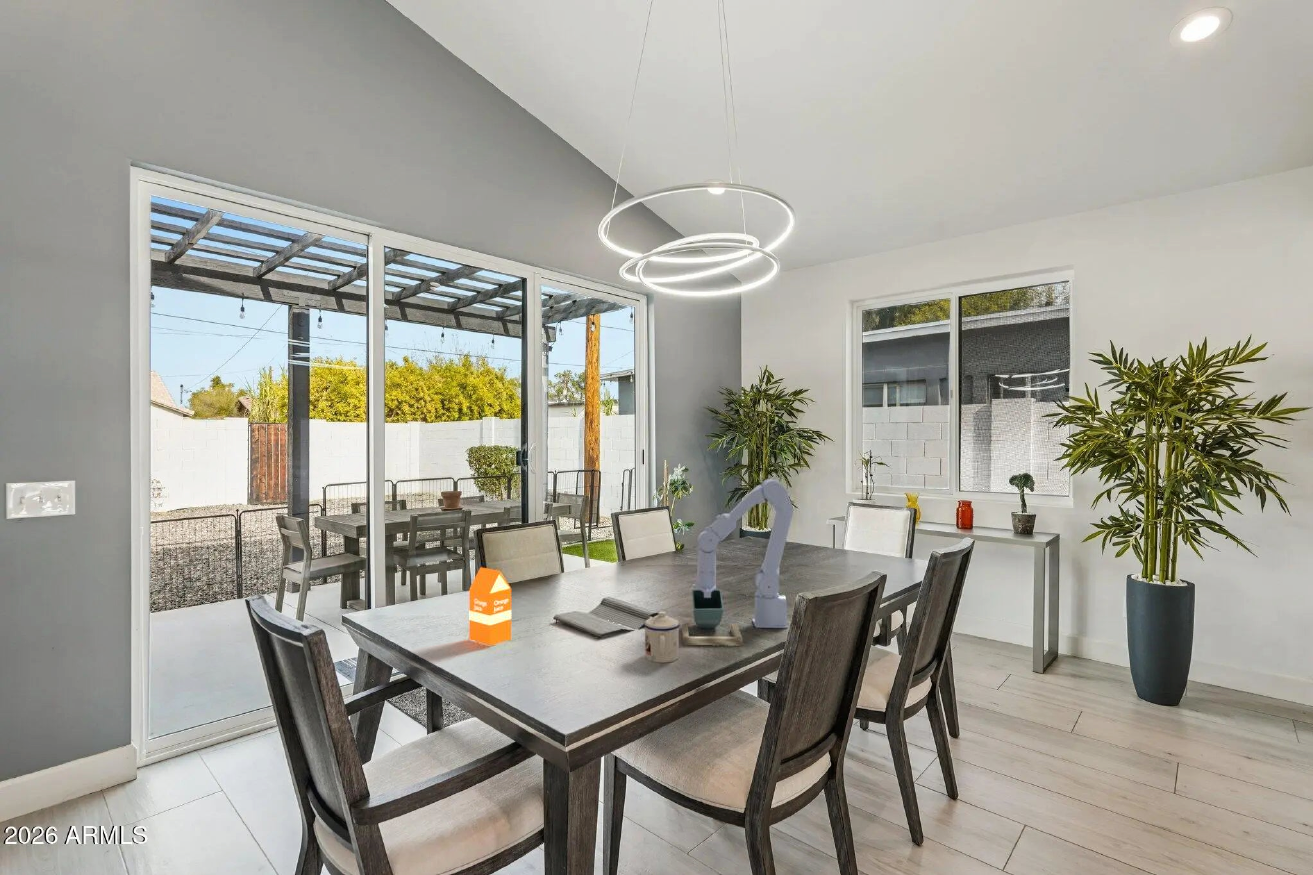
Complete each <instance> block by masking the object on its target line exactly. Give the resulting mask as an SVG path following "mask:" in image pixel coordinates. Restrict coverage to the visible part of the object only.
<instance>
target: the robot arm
mask: <svg viewBox="0 0 1313 875" xmlns="http://www.w3.org/2000/svg"><path fill="white" fill-rule="evenodd" d="M766 500H767V501H768V502H769V503H770V504H771V506H772V508H773V509H774V511H775V515H774V520H773V523H772V527H771V531H770V536H769V539H768V544H767V548H766V552H765V555H764V559H763V562H762V564H761V566H760V569H759V571H758V573H757V574H755V577H754V583H755V586H756V587H757V590H756V591H755V592H754V618H752V619H751V621H752V623H753V626H754V627H755V628H757V629H764V628H765V629H786V628H788V606H787V604H788V603H787V599H786V598H787V596H786V595H784V594H783V595H780V593H779V591H780V583H779V582H780V581H779V577H780V566H781V561H782V557H783V554H784V549H785V546H786V542H787V537H788V534H789V530H790V527H791V522H792V518H793V513H794V507H793V505H792V501H791V499H790V496H789V492H788V490H787V489H786V487H785V486H784V485H783V484H782V483H781V482H780V481H778V480H776V479H773V478H767V479H765V480H763V481H762V482H761V484H758V485H756V486H755V487H754V488H753V489H752V490H751V491H750V492H749V493H748V494H747V495H746V496H745V497H744V498H743V499H742V500H741V501H740V502H739V503H738V504H737V505H736V506H735V507H733V509H732V510H731V511H730V512H729V513H722V514H721V515H720V514H718V515H717V516H715V518H716V519H715V520H714V521H713V522H712V523H711V524H710V525H709V526H706V527H705V530H704V531H701V533H699V535H698V538H697V540H696V541H697V544H698V550H697V554H698V555H697V566H696V568H697V569H696V571H697V572H696V583H693V584H692V587H693V589H694V588H695V589H696V590H700V591H702V592H703V593H704V598H711V592H712V591H714V590H715V589H717V585H716V582H717V581H716V579H717V577H716V576H717V556H716V554H717V553H716V551H717V548H718V544H719V542H722V541H723V540H725V539H726V537H727V536H729V534H730V533H732V532H733V531H734V530H735V529H736V528H737V522H738V520H740V518H742V517H743V516H744V515H746V513H747V512H748V511H750V510H751V509H752V508H753V507H754V506H756V505H758V504H765V503H767V502H766Z"/></svg>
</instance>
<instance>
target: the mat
mask: <svg viewBox="0 0 1313 875" xmlns="http://www.w3.org/2000/svg"><path fill="white" fill-rule="evenodd" d="M657 615H658V611H656V610H652V609H648V608H646V607H643V606H641V605H640V606H639V605H637V604H634V603H630V602H628V601H624V600H621V599H618V598H615V597H612V596H606V597H603V598H602V599H601V601H600V603H599V604H598V605H597V606H596V607H595V608H593V609H592V610H591V611H589V612H583V611H576V610H575V611H574V610H573V611H569V612H564V613H563V612H562V613H559V614H555V615H554V616H553V620H555V623H556V624H558V622H560V623H563V624H565V625H567V626H570V627H571V628H575V629H577V630H580V631H581V632H583V633H586V634H589V635H591V636H593V637H595V638H597V640H599V639H601V637H602V636H605V635H609V634H613V633H615V632H619V631H631V632H634V631H635V630H637V629H638V630H640V629H641V628H642V627H643V626H644V624H645V621H646V620H648V619H650V618H653V617H655V616H657ZM608 620H609V621H608ZM613 622H614V623H613ZM618 624H621V625H618Z"/></svg>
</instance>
